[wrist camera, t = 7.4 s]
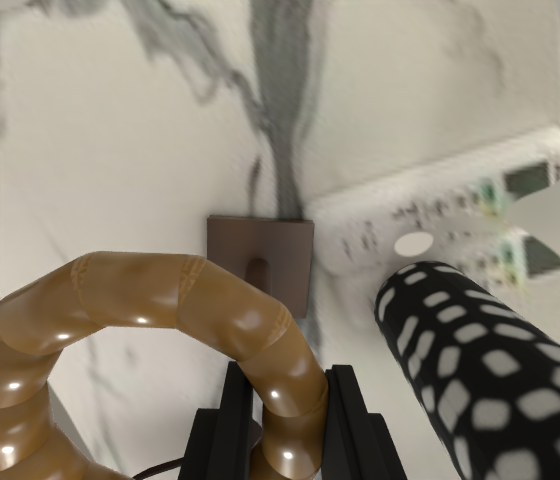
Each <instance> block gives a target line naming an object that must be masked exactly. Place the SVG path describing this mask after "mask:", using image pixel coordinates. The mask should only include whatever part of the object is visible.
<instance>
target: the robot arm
mask: <svg viewBox="0 0 560 480" xmlns="http://www.w3.org/2000/svg"><path fill="white" fill-rule="evenodd" d="M325 375H326V377H327V380H328V383H329V405H328V414H327V423H326V432H325V441H324V450H323V459H322V463H321V474H322V480H408V479H407V477H406V474H405V472H404V469H403V467H402V464H401V461H400V459H399V456H398V454H397V451H396V448H395V446H394V443H393V441H392V438H391V435H390V433H389V430H388V428H387V425H386V423H385V420H384V418H383V416H382V415H381V414H380V413H368V412H367V409H366V406H365V403H364V400H363V397H362V394H361V391H360V388H359V385H358V382H357V379H356V376H355V373H354V370H353V368H352V366H351V365H332V369H326V371H325ZM252 412H253V386H252V385H251V383H250V382H249V380H248V378H247V377H246V375H245V374H244V372H243V371H242V369H241V368H240V366H239V365H238V363H237V362H236V361H229V363H228V368H227V373H226V378H225V383H224V388H223V393H222V398H221V403H220V408H219V409H201V408H198V410H197V412H196V415H195V419H194V422H193V426H192V429H191V433H190V437H189V440H188V444H187V447H186V451H185V454H184V458H183V462H182V465H181V469H180V472H179V476H178V479H177V480H249V470H250V454H251V441H252Z"/></svg>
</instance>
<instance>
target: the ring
mask: <svg viewBox="0 0 560 480" xmlns="http://www.w3.org/2000/svg"><path fill="white" fill-rule="evenodd" d="M107 326H113V327H143V328H172V329H177V330H179V331H181V332H183V333H185V334H187V335H188V336H190V337H192V338H194V339H196V340H198V341H200V342H202V343H204V344H206V345H208V346H209V347H211V348H213V349H215V350H217V351H219V352H221V353H223V354H225V355H227V356H228V357H230V358H232V359H234V360H236V362H237V363H238V365H239V366H240V368H241V369H242V371H243V372H244V374H245V375H246V377H247V378H248V380H249V382H250V383H251V385H252V386H253V388H254V389H255V391H256V392H257V394H258V395H259V397H260V398H261V400H262V401H263V412H262V436H261V437H260V438H259V440H258V441H257V442H256V444H255V445H254V446H253V447H252V449H251V454H250V470H249V480H312V479H313V478H314V477H315V476H316V474H317V473H318V471H319V469H320V467H321V463H322V459H323V450H324V441H325V432H326V423H327V414H328V405H329V383H328V380H327V377H326V375H325V373H324V371H323V369H322V368H321V366H320V364H319V362H318V361H317V359H316V357H315V355H314V354H313V352H312V350H311V348H310V347H309V345H308V343H307V341H306V340H305V338H304V336H303V334H302V332H301V331H300V329H299V327H298V325H297V324H296V322H295V320H294V318H293V317H292V315H291V313H290V312H289V310H288V309H287V308H286V306H285V305H284V304H282V303H281V302H280V301H278V300H277V299H275V298H273V297H272V296H270V295H268V294H266V293H265V292H263V291H261V290H259V289H258V288H256V287H254V286H252V285H251V284H249V283H247V282H245V281H244V280H242V279H240V278H238V277H237V276H235V275H233V274H232V273H230V272H228V271H226V270H225V269H223V268H221V267H219V266H218V265H216V264H214V263H212V262H211V261H209V260H207V259H205V258H203V257H200V256H197V255H188V254H163V253H138V252H113V251H98V252H92V253H88V254H85V255H83V256H81V257H79V258H77V259H75V260H73V261H71V262H69V263H67V264H65V265H64V266H62V267H60V268H58V269H56V270H54V271H52V272H50V273H49V274H47V275H45V276H43V277H41V278H39V279H37V280H35V281H34V282H32V283H30V284H28V285H26V286H24V287H22V288H20V289H19V290H17V291H15V292H13V293H11V294H9V295H8V296H6V297H5V298H3V299H2V300H1V301H0V480H135V479H133V478H130V477H128V476H126V475H123V474H121V473H119V472H117V471H114V470H112V469H110V468H107V467H105V466H103V465H100V464H98V463H96V462H93V461H91V460H89V459H88V458H87V457H86V456H85V455H84V454H83V453H82V452H81V451H80V449H79V448H78V447H77V446H76V445H75V444H74V443H73V442H72V440H71V439H70V438H69V437H68V436H67V435H66V434H65V433H64V432H63V430H62V429H61V428H60V427H59V426H58V425H57V424H56V423H55V422H54V417H53V411H52V406H51V400H50V395H49V389H48V384H47V379H48V377H49V375H50V373H51V371H52V369H53V367H54V365H55V364H56V362H57V360H58V358H59V356H60V354H61V352H62V350H63V349H64V348H65V347H67V346H69V345H71V344H73V343H75V342H77V341H79V340H81V339H83V338H85V337H87V336H89V335H91V334H93V333H95V332H97V331H99V330H101V329H103V328H105V327H107Z"/></svg>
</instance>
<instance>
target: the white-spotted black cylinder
mask: <svg viewBox="0 0 560 480" xmlns="http://www.w3.org/2000/svg"><path fill="white" fill-rule="evenodd" d="M374 314H375V321H376V323H377V326H378V329H379V330H380V332H381V334H382V336H383V338H384V339H385V341H386V343H387V345H388V347H389V349H390V350H391V352H392V354H393V356H394V358H395V359H396V361H397V363H398V365H399V367H400V369H401V370H402V372H403V374H404V376H405V378H406V379H407V381H408V383H409V385H410V387H411V389H412V390H413V392H414V394H415V396H416V398H417V399H418V401H419V403H420V405H421V407H422V408H423V410H424V412H425V414H426V416H427V418H428V419H429V421H430V423H431V425H432V427H433V428H434V430H435V432H436V434H437V436H438V438H439V439H440V441H441V443H442V445H443V447H444V448H445V450H446V452H447V454H448V456H449V458H450V459H451V461H452V463H453V465H454V467H455V468H456V470H457V472H458V474H459V476H460V477H461V479H462V480H560V344H558V343H557V342H556V341H554V340H553V339H552V338H550V337H549V336H547V335H546V334H545V333H543V332H542V331H541V330H539V329H538V328H536V327H535V326H534V325H532V324H531V323H530V322H528V321H527V320H525V319H524V318H523V317H521V316H520V315H519V314H517V313H516V312H515V311H513V310H512V309H510V308H509V307H508V306H506V305H505V304H504V303H502V302H501V301H499V300H498V299H497V298H495V297H494V296H493V295H491V294H490V293H488V292H487V291H486V290H484V289H483V288H482V287H480V286H479V285H477V284H476V283H475V282H473V281H472V280H471V279H469V278H468V277H466V276H465V275H464V274H462V273H461V272H460V271H458V270H457V269H455V268H454V267H452V266H450V265H447V264H445V263H440V262H435V261H430V262H420V263H415V264H412V265H409V266H407V267H404V268H403V269H401V270H399V271H398V272H396V273H395V274H394V275H393V276H391V277H390V278H389V279H388V280H387V281H386V283H385V284H384V285H383V286H382V288H381V290H380V292H379V294H378V296H377V299H376V302H375V310H374Z"/></svg>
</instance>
